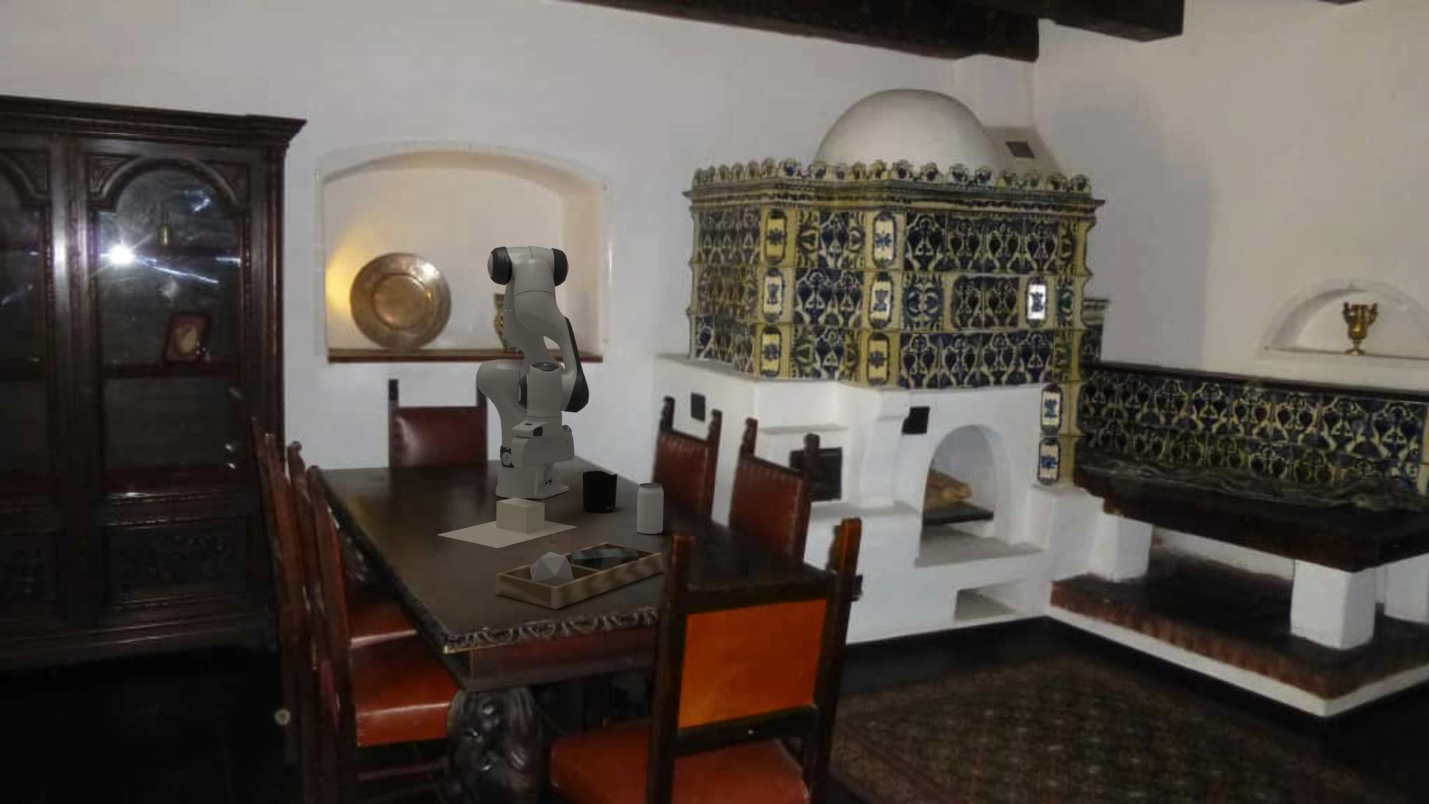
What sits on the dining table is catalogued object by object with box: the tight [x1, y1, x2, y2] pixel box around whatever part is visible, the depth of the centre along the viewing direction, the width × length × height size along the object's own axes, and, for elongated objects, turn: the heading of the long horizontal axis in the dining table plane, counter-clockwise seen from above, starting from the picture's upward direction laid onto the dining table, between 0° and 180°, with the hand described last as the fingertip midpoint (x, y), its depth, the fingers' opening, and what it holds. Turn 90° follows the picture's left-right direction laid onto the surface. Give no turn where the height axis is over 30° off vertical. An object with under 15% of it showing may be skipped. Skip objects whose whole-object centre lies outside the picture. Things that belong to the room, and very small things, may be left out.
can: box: [636, 482, 665, 535], centre depth 268 cm, size 6×6×12 cm
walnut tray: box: [494, 541, 664, 610], centre depth 223 cm, size 35×16×4 cm, turn 147°
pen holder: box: [582, 470, 618, 514], centre depth 292 cm, size 9×9×10 cm
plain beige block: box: [495, 498, 546, 533], centre depth 267 cm, size 6×10×6 cm, turn 57°
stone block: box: [570, 546, 639, 571], centre depth 228 cm, size 9×14×5 cm, turn 104°
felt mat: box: [437, 520, 577, 549], centre depth 264 cm, size 28×20×1 cm
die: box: [530, 551, 574, 586], centre depth 214 cm, size 8×9×10 cm
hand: (543, 481), depth 272 cm, fingers closed
